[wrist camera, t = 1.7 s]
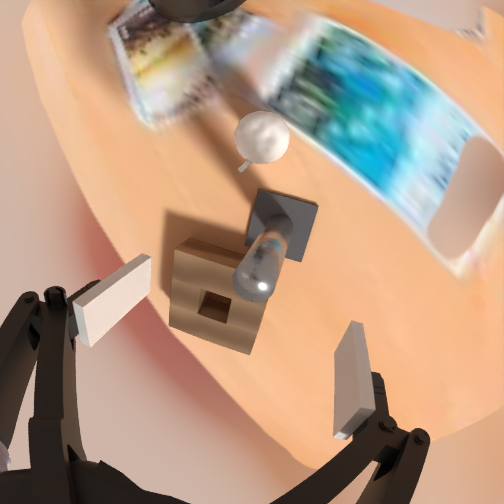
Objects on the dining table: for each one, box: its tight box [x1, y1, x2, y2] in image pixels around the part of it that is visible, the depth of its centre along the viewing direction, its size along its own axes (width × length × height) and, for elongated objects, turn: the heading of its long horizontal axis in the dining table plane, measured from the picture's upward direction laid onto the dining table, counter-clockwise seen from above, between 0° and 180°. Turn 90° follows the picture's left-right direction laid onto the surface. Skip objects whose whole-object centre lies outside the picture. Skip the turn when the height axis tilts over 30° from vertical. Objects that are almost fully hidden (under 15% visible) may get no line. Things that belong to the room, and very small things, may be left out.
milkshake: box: [234, 111, 291, 173], centre depth 24 cm, size 4×5×10 cm
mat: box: [245, 189, 318, 262], centre depth 31 cm, size 7×7×1 cm
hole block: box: [169, 239, 268, 355], centre depth 35 cm, size 12×12×4 cm
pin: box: [232, 214, 293, 302], centre depth 25 cm, size 3×3×14 cm
